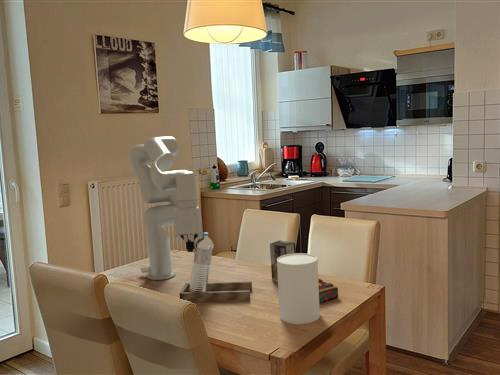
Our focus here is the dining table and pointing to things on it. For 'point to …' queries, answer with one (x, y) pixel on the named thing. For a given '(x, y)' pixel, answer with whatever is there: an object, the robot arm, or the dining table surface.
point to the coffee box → (279, 254)
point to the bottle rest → (219, 292)
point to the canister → (298, 288)
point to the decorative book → (326, 291)
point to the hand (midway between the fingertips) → (190, 251)
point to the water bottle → (201, 264)
